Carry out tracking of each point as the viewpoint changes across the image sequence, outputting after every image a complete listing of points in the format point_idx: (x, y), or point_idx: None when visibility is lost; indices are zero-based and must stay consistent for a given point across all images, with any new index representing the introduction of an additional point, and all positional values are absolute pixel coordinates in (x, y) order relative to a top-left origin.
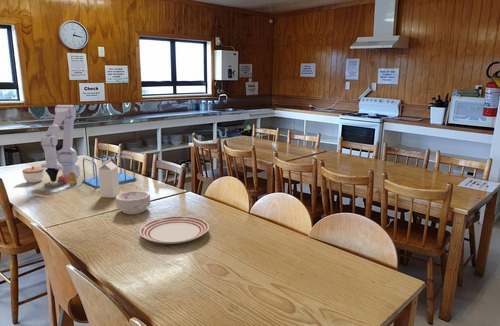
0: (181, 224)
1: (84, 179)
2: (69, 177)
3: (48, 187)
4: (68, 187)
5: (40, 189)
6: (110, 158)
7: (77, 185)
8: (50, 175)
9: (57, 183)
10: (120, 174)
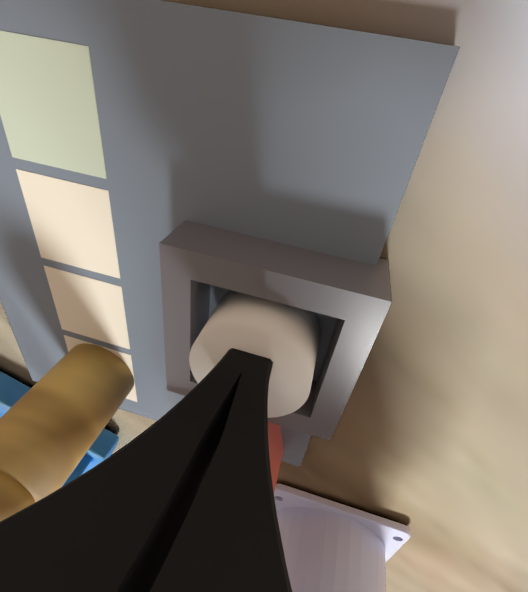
0: None
1: (84, 458)
2: (32, 433)
3: (291, 241)
4: (51, 282)
5: (353, 86)
6: None
7: (49, 352)
8: (216, 459)
9: (174, 328)
10: None
